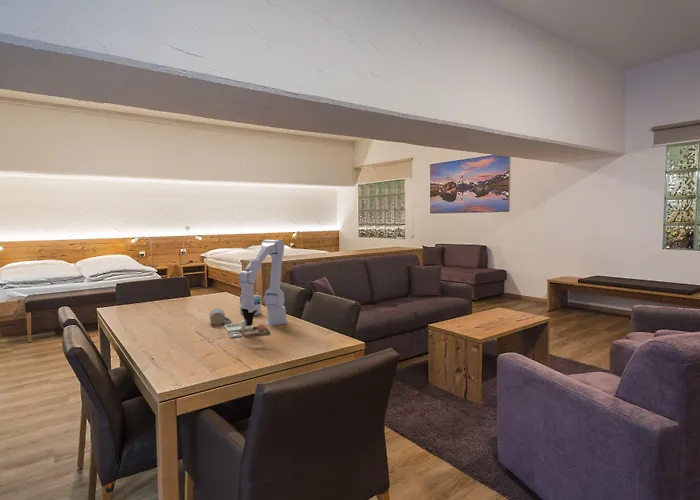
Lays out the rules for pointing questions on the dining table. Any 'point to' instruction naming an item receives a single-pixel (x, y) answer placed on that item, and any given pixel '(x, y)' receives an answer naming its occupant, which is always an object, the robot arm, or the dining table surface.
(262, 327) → the terracotta ball
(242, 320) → the cream ball
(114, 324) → the dining table surface
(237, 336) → the tile
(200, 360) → the dining table surface
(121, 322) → the dining table surface
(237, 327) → the sage tray
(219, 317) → the ceramic mug
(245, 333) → the walnut tray
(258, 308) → the light bulb box
